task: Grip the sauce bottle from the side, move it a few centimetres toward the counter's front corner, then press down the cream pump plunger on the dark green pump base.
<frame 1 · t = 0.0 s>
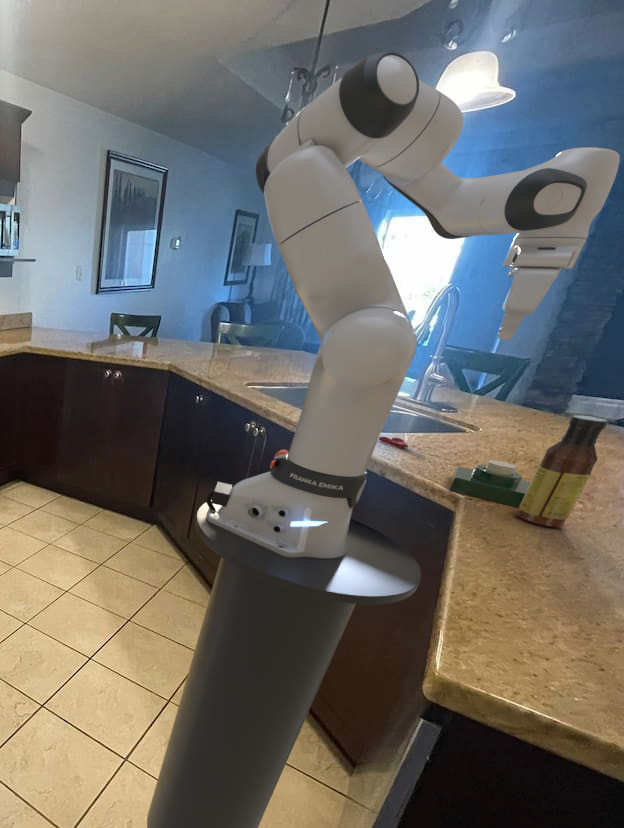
hand: (503, 337, 92), 31 cm above the countertop, tool pointing down, fingers open, 8 cm apart
sauce bottle: (535, 521, 91), on the countertop
scissors: (403, 449, 127), on the countertop
pump base: (487, 492, 103), on the countertop
pump: (500, 468, 100), point 6 cm above the countertop, slide at 0.1 cm
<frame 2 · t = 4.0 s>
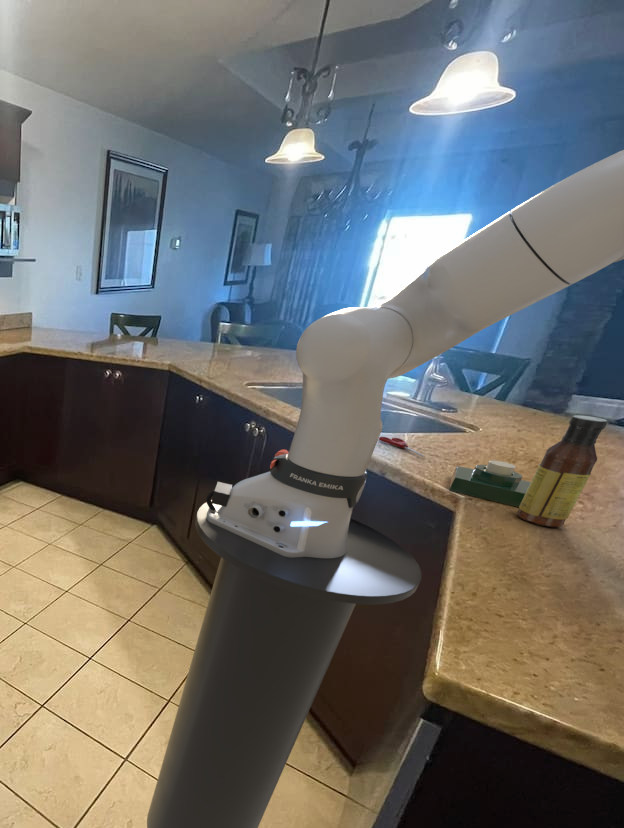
nothing on the countertop moved.
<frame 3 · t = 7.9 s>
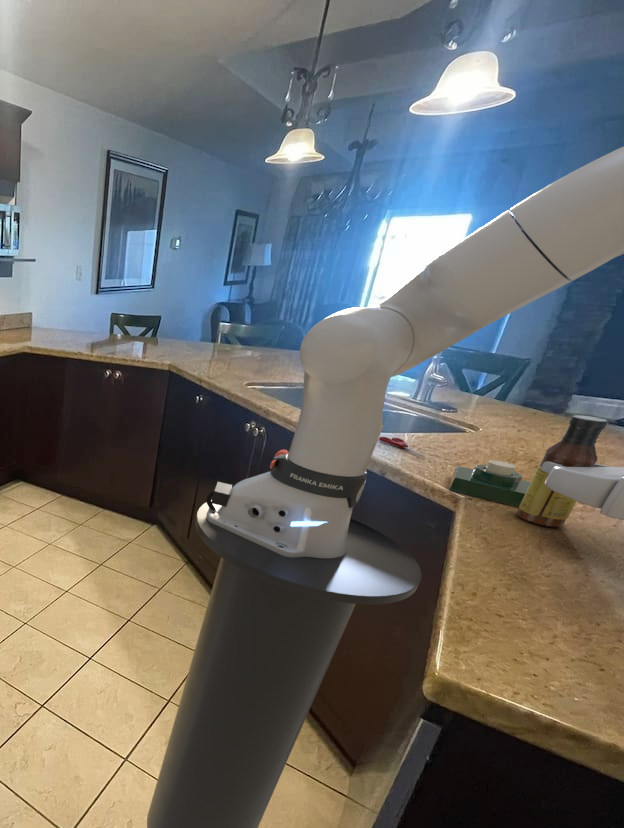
hand: (563, 465, 87), 11 cm above the countertop, tool horizontal, fingers closed on sauce bottle, 6 cm apart
sauce bottle: (535, 521, 91), on the countertop, touching gripper
everything else where it was.
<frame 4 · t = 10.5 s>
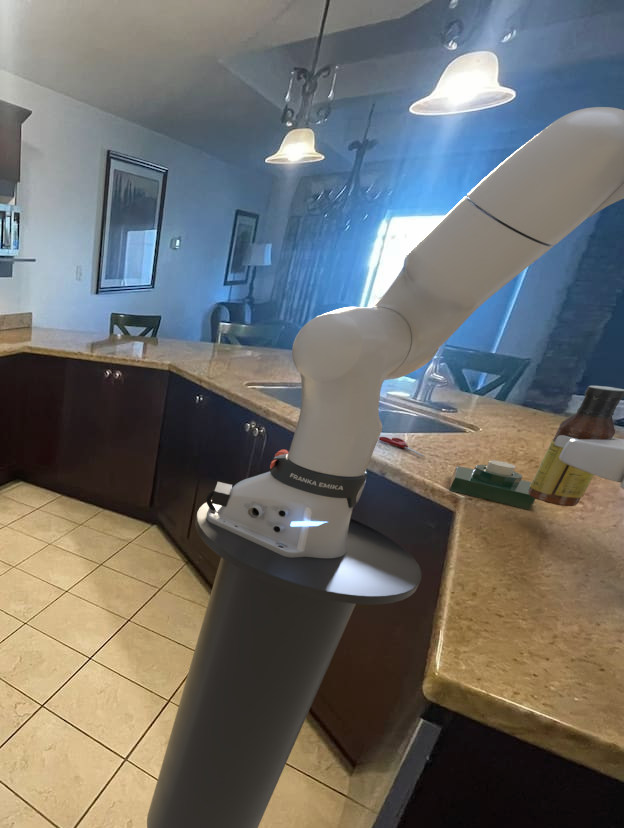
hand: (578, 439, 82), 17 cm above the countertop, tool horizontal, fingers closed on sauce bottle, 6 cm apart
sauce bottle: (548, 500, 86), point 6 cm above the countertop, touching gripper
everything else where it was.
when the fingers open (11 cm above the countertop, at t = 13.1 s): sauce bottle stays where it is, on the countertop.
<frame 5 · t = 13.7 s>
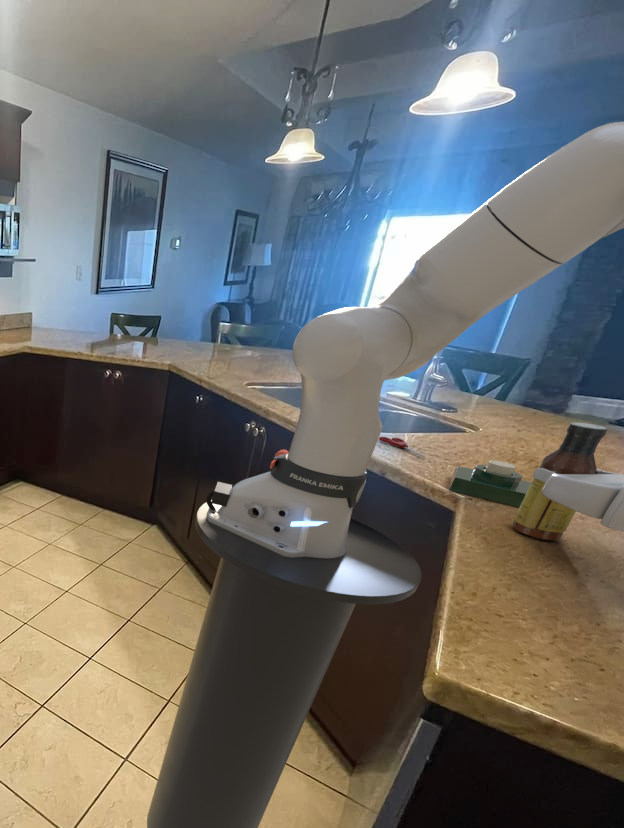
hand: (562, 472, 82), 12 cm above the countertop, tool horizontal, fingers open, 8 cm apart
sauce bottle: (531, 534, 87), on the countertop
everything else where it was.
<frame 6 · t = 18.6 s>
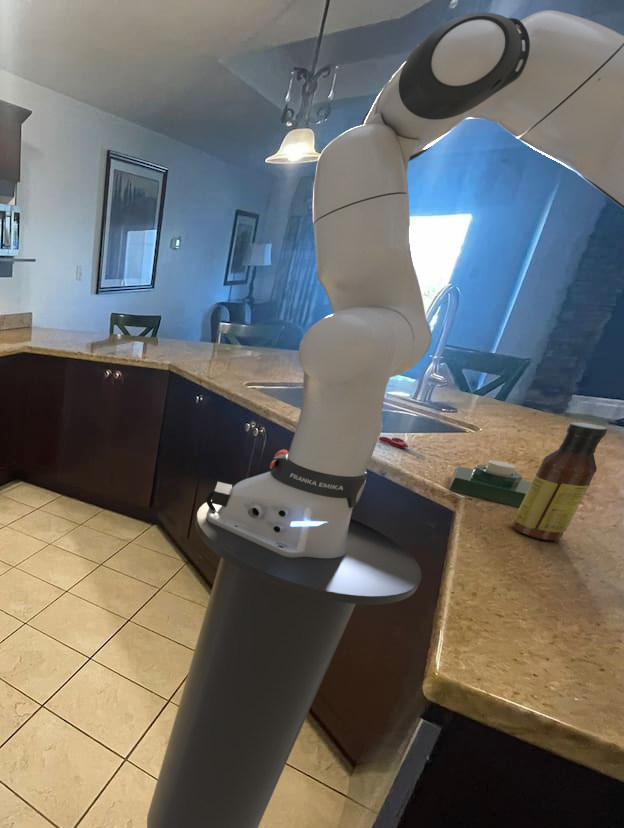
nothing on the countertop moved.
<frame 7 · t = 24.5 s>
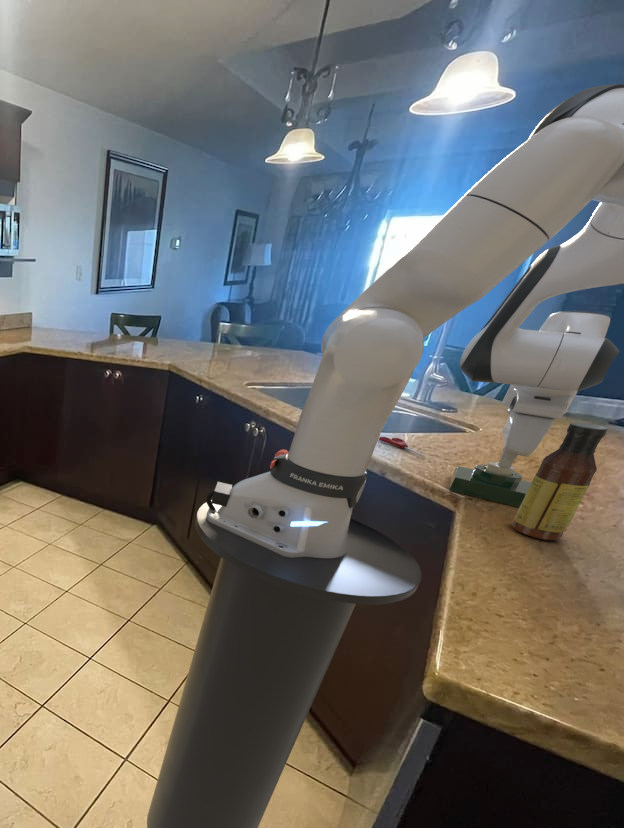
hand: (503, 465, 100), 6 cm above the countertop, tool pointing down, fingers closed, pressing on pump
pump: (499, 469, 101), point 5 cm above the countertop, slide at -0.3 cm, touching gripper
everything else where it was.
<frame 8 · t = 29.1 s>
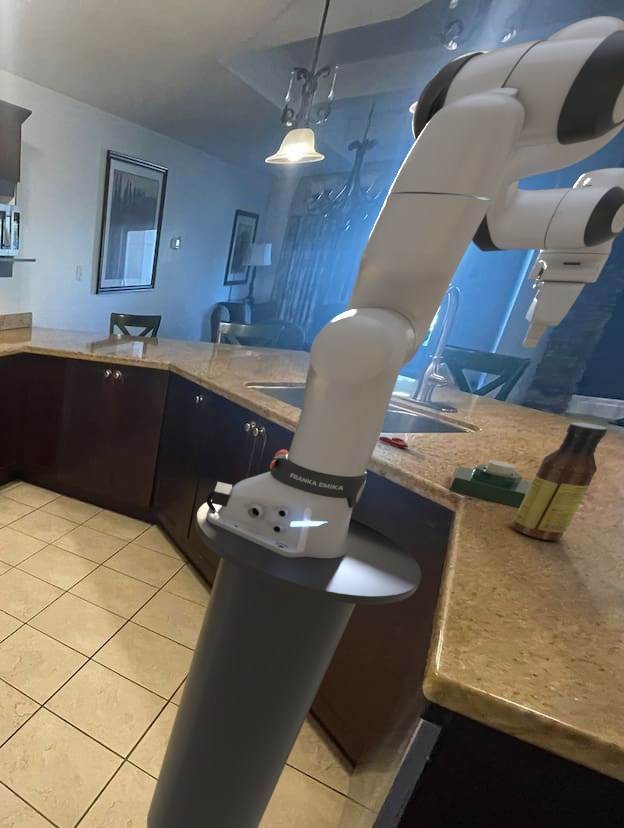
hand: (528, 347, 97), 29 cm above the countertop, tool pointing down, fingers closed
pump: (500, 468, 100), point 6 cm above the countertop, slide at 0.1 cm
everything else where it was.
at the end: pump pushed in 1.3 cm at the most during the clip, back to where it started at the end; sauce bottle inside the target area (0.4 cm from its centre), on the countertop; sauce bottle tilted 0° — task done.
